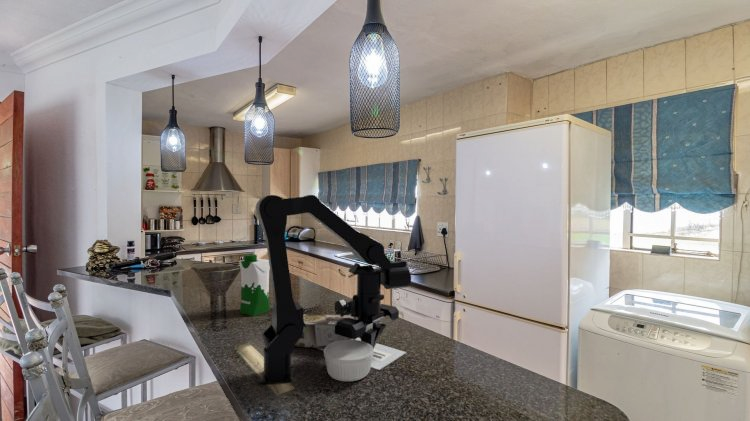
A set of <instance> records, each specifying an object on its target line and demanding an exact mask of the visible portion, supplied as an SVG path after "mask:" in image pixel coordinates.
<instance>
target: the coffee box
mask: <svg viewBox="0 0 750 421" xmlns="http://www.w3.org/2000/svg"><path fill="white" fill-rule="evenodd" d="M345 318H351V319H354V320H357V317H351V315H344V316H343V317H341V316H340V314H338V315H337V314H314V313H313V314H309V313H303V320H304V323H305V325H306V327H304V326H303V335H302V336H301V338H300V339H299V340H298V341H297V342H296V344H295V347H297V348H298V347H299V348H315V349H317V348H325V347H326V346H328V345H329V344H331V343H334V342H337V341H342V340H356V339H351V338H347V337H344V336H341V335H337V334H335V324H336V323H337V322H338V321H340V320H343V319H345Z"/></svg>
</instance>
